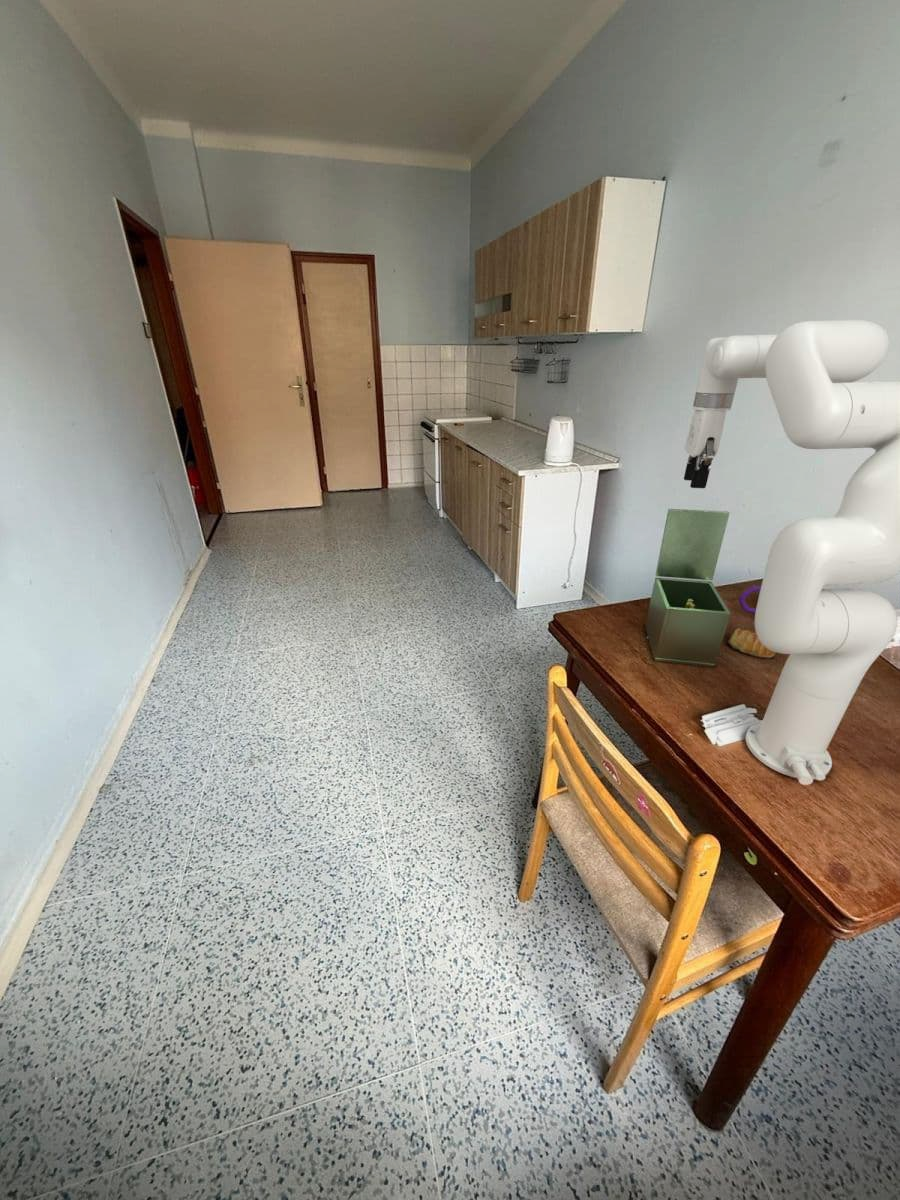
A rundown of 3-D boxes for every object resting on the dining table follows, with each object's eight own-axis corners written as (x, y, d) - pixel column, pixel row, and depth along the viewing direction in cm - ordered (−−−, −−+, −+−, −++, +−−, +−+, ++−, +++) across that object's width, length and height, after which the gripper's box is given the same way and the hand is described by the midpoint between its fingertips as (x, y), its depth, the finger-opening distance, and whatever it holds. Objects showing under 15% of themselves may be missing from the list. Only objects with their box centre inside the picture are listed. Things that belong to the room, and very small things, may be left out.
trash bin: (714, 667, 105) (730, 613, 98) (654, 660, 107) (666, 608, 101) (698, 630, 118) (711, 581, 112) (645, 625, 121) (655, 577, 114)
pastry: (777, 651, 110) (783, 637, 108) (769, 663, 106) (774, 649, 104) (734, 636, 116) (738, 623, 114) (724, 647, 112) (728, 634, 110)
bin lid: (729, 512, 104) (728, 511, 105) (669, 509, 107) (668, 508, 107) (712, 580, 111) (711, 579, 112) (655, 576, 114) (655, 575, 114)
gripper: (686, 397, 111) (670, 474, 119) (704, 406, 96) (684, 493, 104) (720, 398, 109) (702, 475, 118) (744, 406, 94) (721, 494, 103)
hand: (694, 483), depth 111 cm, fingers open, 6 cm apart
